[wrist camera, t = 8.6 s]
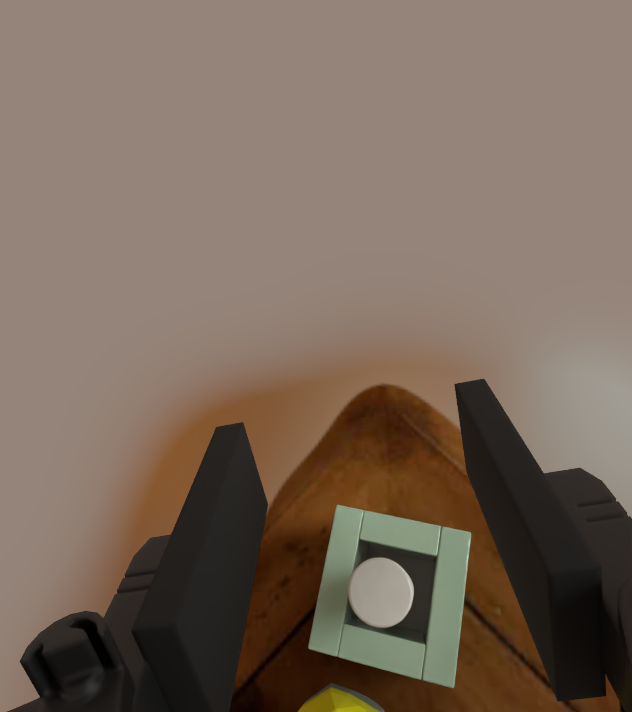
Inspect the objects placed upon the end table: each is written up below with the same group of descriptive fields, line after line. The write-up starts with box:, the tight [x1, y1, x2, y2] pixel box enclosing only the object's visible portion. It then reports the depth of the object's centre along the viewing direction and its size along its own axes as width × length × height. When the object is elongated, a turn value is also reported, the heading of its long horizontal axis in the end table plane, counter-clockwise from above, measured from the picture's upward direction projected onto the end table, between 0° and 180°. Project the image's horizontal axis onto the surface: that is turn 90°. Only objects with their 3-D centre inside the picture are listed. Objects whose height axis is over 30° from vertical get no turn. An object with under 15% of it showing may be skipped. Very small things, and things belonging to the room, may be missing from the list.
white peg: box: [348, 557, 414, 628], centre depth 21 cm, size 2×2×13 cm
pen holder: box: [308, 505, 471, 688], centre depth 24 cm, size 6×6×6 cm
